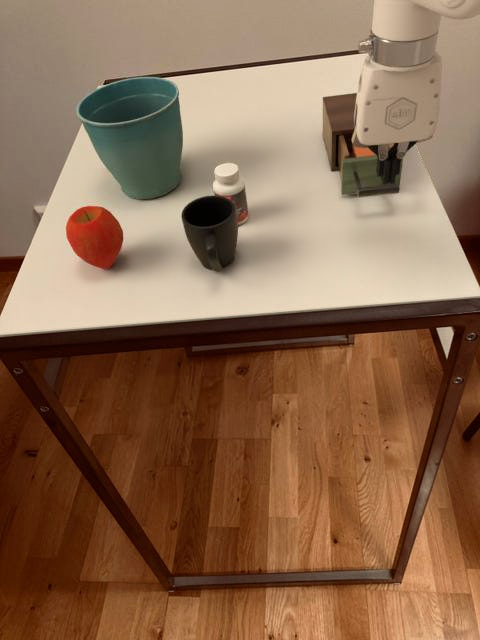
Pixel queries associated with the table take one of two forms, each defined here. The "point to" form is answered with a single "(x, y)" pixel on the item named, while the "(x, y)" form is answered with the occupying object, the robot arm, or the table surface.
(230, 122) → the table surface
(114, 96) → the flower pot
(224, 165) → the pill bottle
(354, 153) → the block
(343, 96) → the cabinet
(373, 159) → the drawer
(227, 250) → the mug
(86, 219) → the apple
